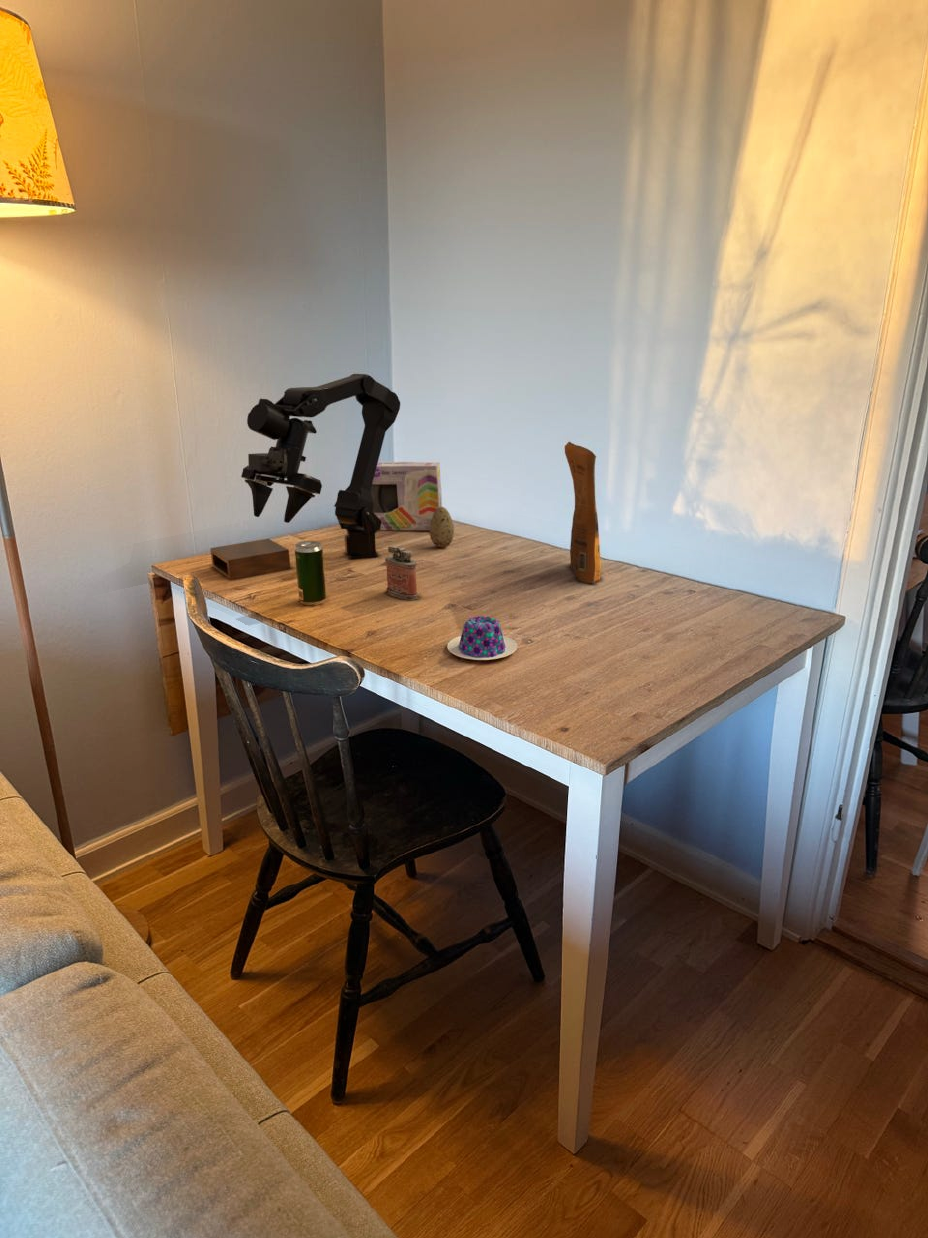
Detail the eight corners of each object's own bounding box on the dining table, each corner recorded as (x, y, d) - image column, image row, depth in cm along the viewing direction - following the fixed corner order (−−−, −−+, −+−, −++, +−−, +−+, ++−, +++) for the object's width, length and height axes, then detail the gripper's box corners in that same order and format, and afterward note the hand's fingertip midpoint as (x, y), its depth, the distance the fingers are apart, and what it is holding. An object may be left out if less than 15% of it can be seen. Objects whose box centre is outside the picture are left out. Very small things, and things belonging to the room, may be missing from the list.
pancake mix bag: (574, 587, 173) (579, 452, 163) (559, 561, 191) (563, 438, 181) (606, 586, 173) (613, 451, 163) (588, 560, 191) (594, 437, 181)
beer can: (309, 607, 162) (304, 549, 158) (294, 601, 166) (288, 543, 162) (331, 601, 166) (327, 543, 162) (316, 595, 169) (311, 538, 165)
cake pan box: (369, 530, 219) (365, 463, 213) (374, 525, 223) (370, 460, 217) (440, 532, 216) (438, 465, 210) (443, 528, 220) (442, 461, 214)
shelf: (270, 556, 196) (268, 538, 195) (290, 568, 187) (288, 549, 185) (212, 567, 189) (210, 548, 187) (230, 580, 180) (228, 560, 178)
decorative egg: (425, 547, 202) (424, 507, 199) (439, 542, 207) (438, 503, 203) (444, 551, 199) (444, 510, 195) (459, 545, 204) (458, 506, 200)
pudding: (464, 668, 134) (463, 639, 132) (436, 643, 144) (436, 615, 143) (529, 656, 139) (530, 627, 137) (498, 632, 149) (498, 605, 147)
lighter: (421, 597, 168) (420, 549, 164) (409, 601, 165) (408, 553, 162) (395, 588, 173) (393, 542, 169) (382, 592, 171) (380, 545, 167)
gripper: (231, 430, 171) (212, 503, 171) (293, 437, 160) (273, 515, 160) (270, 448, 180) (252, 517, 180) (331, 455, 170) (312, 529, 170)
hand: (271, 519), depth 172 cm, fingers open, 9 cm apart
